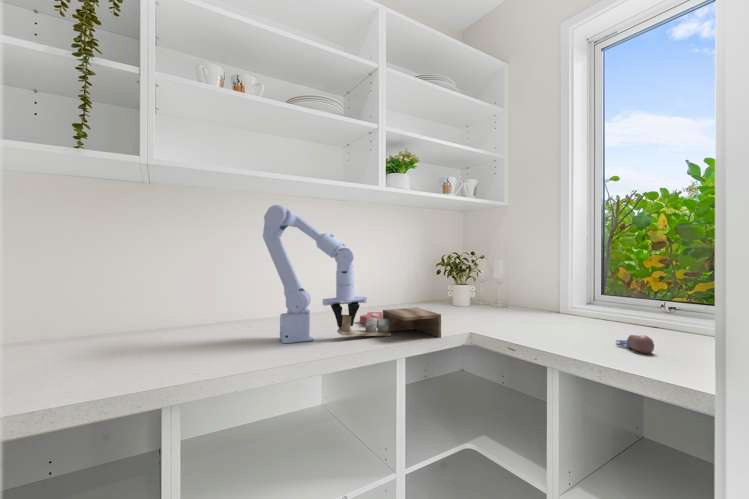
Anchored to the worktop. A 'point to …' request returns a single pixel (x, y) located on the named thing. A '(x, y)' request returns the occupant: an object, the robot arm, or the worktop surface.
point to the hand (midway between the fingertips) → (345, 326)
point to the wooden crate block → (413, 320)
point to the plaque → (371, 315)
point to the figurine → (638, 343)
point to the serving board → (362, 333)
